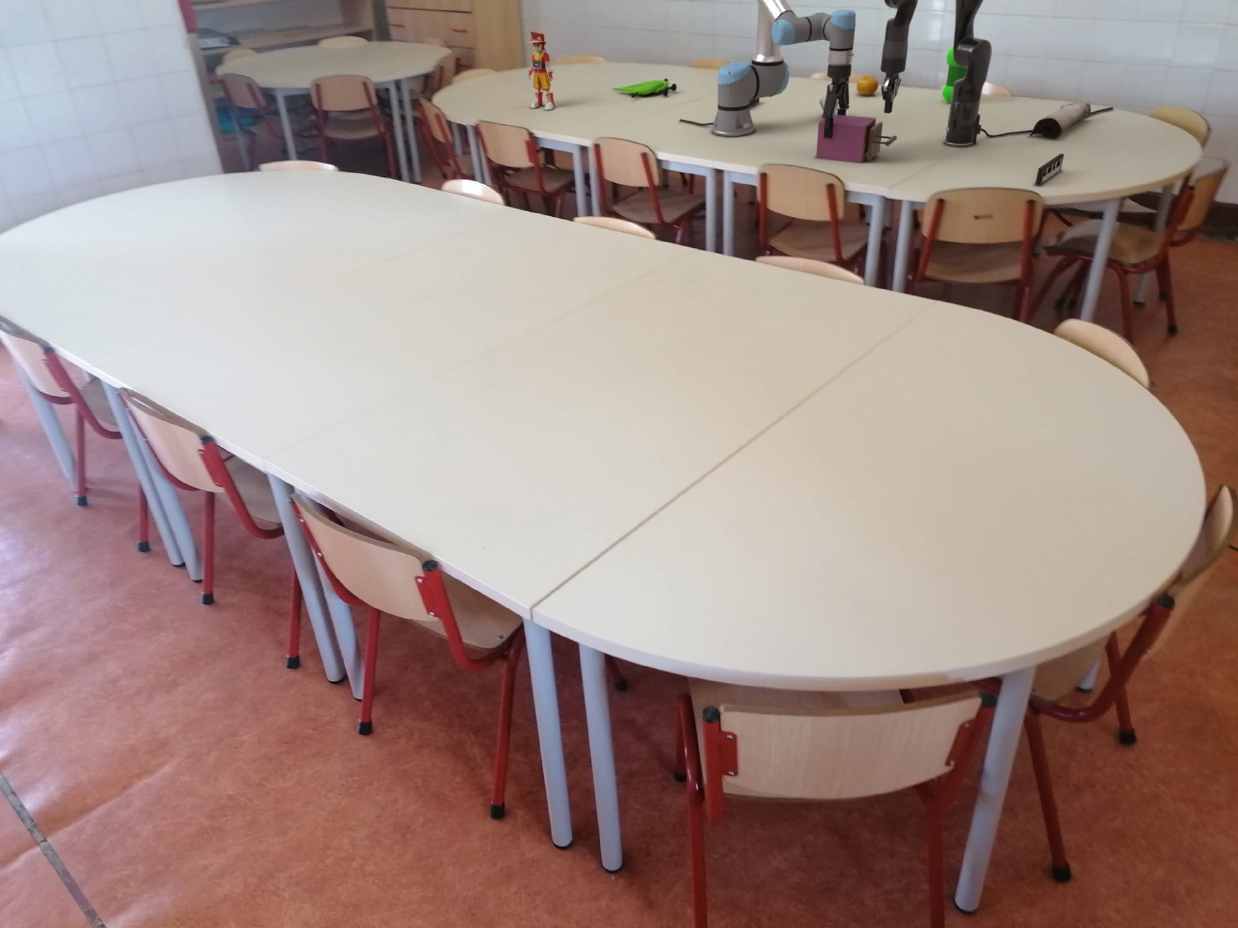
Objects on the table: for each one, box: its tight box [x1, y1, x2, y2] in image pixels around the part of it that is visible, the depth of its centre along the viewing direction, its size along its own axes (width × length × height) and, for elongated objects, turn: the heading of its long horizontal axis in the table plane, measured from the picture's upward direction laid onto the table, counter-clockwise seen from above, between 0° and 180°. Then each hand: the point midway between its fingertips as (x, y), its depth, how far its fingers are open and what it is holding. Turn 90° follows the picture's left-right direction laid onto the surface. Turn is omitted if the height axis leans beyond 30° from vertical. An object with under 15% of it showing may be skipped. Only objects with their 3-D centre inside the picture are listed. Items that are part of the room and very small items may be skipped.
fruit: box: [856, 75, 879, 96], centre depth 370 cm, size 8×8×8 cm
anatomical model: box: [819, 96, 848, 115], centre depth 341 cm, size 15×10×10 cm
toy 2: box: [612, 78, 677, 99], centre depth 396 cm, size 28×5×30 cm
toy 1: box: [527, 31, 556, 111], centre depth 374 cm, size 12×9×30 cm
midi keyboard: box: [1035, 153, 1065, 186], centre depth 273 cm, size 18×1×5 cm, turn 138°
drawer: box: [863, 121, 898, 161], centre depth 298 cm, size 20×10×10 cm, turn 58°
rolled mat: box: [1029, 101, 1092, 140], centre depth 316 cm, size 30×9×10 cm
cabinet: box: [815, 114, 877, 164], centre depth 301 cm, size 16×11×12 cm
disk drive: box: [749, 98, 761, 108], centre depth 367 cm, size 10×3×15 cm
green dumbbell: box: [942, 46, 967, 104], centre depth 348 cm, size 10×10×25 cm
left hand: (834, 133), depth 302 cm, fingers closed on cabinet, 11 cm apart
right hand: (887, 112), depth 290 cm, fingers closed
